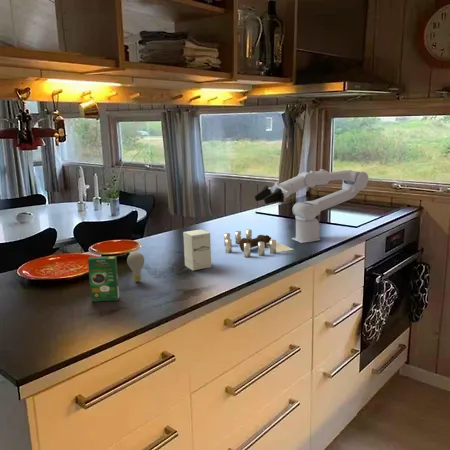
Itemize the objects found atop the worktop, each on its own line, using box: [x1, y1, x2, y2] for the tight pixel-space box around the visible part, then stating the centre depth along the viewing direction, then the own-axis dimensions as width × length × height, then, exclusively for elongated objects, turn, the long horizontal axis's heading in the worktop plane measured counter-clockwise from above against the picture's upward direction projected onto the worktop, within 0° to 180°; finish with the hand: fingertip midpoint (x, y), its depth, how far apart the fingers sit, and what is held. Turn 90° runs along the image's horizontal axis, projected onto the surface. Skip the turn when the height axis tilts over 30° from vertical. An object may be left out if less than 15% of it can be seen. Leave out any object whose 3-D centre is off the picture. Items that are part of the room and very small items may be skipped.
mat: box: [265, 238, 295, 253], centre depth 186 cm, size 7×20×1 cm, turn 24°
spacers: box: [223, 229, 277, 258], centre depth 181 cm, size 16×22×5 cm
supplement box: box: [182, 229, 212, 271], centre depth 161 cm, size 7×7×13 cm
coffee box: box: [87, 255, 120, 303], centre depth 133 cm, size 8×3×13 cm, turn 93°
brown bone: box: [239, 234, 272, 252], centre depth 183 cm, size 6×5×15 cm
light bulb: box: [126, 251, 145, 283], centre depth 147 cm, size 6×6×10 cm
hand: (260, 200), depth 180 cm, fingers open, 7 cm apart
